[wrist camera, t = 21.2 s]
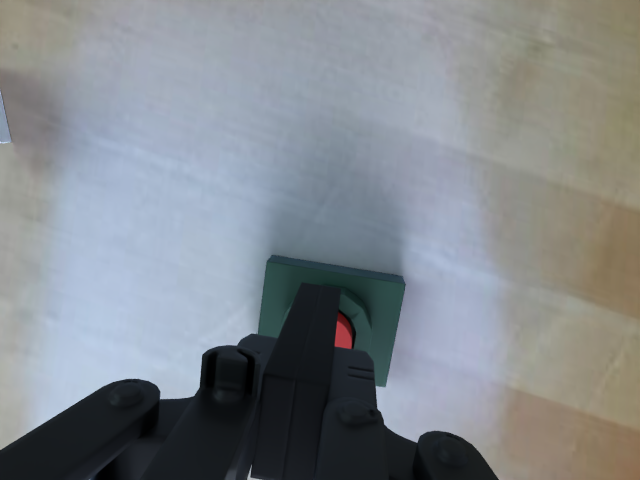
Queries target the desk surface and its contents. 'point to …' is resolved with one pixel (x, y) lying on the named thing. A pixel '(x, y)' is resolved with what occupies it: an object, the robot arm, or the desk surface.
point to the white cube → (3, 124)
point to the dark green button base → (355, 304)
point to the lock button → (343, 333)
